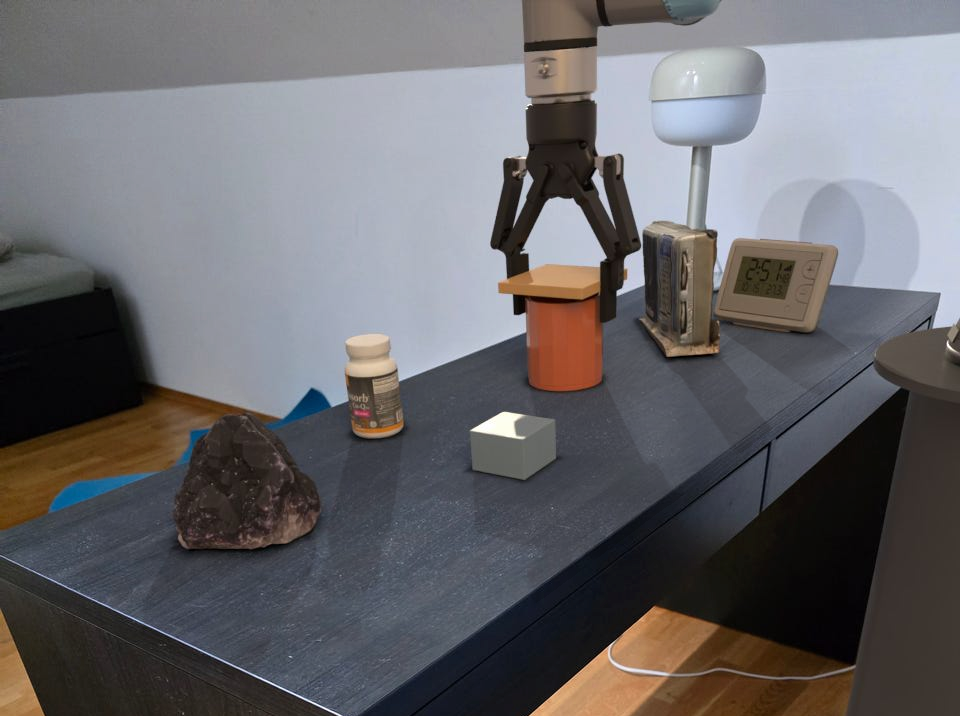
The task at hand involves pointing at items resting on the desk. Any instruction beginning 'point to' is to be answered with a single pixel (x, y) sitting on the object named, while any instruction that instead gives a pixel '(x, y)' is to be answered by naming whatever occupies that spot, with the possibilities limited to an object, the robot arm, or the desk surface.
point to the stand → (513, 445)
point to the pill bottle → (373, 387)
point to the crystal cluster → (243, 489)
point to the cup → (564, 342)
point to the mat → (555, 282)
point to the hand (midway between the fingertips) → (563, 316)
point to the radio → (680, 288)
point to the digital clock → (775, 284)
